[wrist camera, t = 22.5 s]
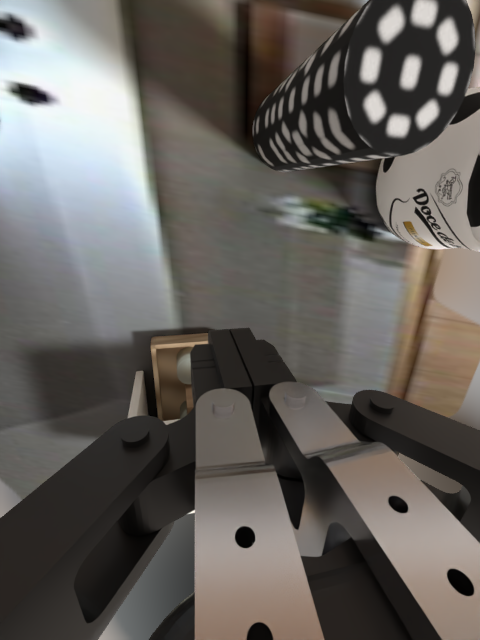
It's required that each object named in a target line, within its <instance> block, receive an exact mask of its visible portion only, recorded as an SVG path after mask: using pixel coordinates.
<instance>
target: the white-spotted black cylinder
mask: <svg viewBox="0 0 480 640" xmlns="http://www.w3.org/2000/svg"><path fill="white" fill-rule="evenodd" d="M474 58H475V29H474V24H473V19H472V14H471V11H470V9H469V6H468V4H467V1H466V0H369V1H368V2H367V3H366V4H365V5H363V6H362V7H361V8H360V9H359V10H358V11H357V12H356V13H355V14H354V15H353V16H352V17H351V18H350V19H349V20H348V21H347V22H346V23H344V24H343V25H342V26H341V27H340V28H339V29H338V30H337V31H336V32H335V33H334V34H333V35H332V36H331V37H330V38H329V39H328V40H327V41H325V42H324V43H323V44H322V45H321V46H320V47H319V48H318V49H317V50H316V51H315V52H314V53H313V54H312V55H311V56H310V57H309V58H307V59H306V60H305V61H304V62H303V63H302V64H301V65H300V66H299V67H298V68H297V69H296V70H295V71H294V72H293V73H292V74H291V75H290V76H288V77H287V78H286V79H285V80H284V81H283V82H282V83H281V84H280V85H279V86H278V87H277V88H276V89H275V90H274V91H273V92H272V93H271V94H269V95H268V96H267V97H266V98H265V99H264V101H263V102H262V103H261V104H260V106H259V108H258V110H257V112H256V115H255V118H254V122H253V141H254V146H255V149H256V151H257V153H258V155H259V157H260V158H261V160H262V161H263V162H264V163H265V164H266V165H267V166H269V167H270V168H272V169H274V170H276V171H281V172H290V171H297V170H304V169H312V168H319V167H326V166H333V165H340V164H347V163H354V162H361V161H368V160H375V159H382V158H389V157H397V156H403V155H407V154H411V153H414V152H417V151H418V150H420V149H422V148H424V147H426V146H427V145H429V144H430V143H431V142H433V141H434V140H435V139H436V138H438V136H439V135H440V134H441V133H442V132H443V131H444V130H445V129H446V128H447V127H448V125H449V124H450V122H451V121H452V120H453V118H454V117H455V115H456V114H457V112H458V110H459V108H460V106H461V104H462V102H463V100H464V98H465V95H466V92H467V89H468V87H469V84H470V80H471V76H472V71H473V67H474Z"/></svg>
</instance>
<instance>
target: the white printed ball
mask: <svg viewBox="0 0 480 640" xmlns="http://www.w3.org/2000/svg"><path fill="white" fill-rule="evenodd" d="M376 203H377V208H378V211H379V213H380V216H381V218H382V220H383V222H384V224H385V225H386V227H387V228H388V229H389V230H390V231H391V232H392V233H393V234H394V235H395V236H397V237H398V238H400V239H402V240H403V241H405V242H407V243H410V244H412V245H415V246H418V247H422V248H428V249H449V248H466V249H470V250H474V251H478V252H480V87H475V88H469V89H467V92H466V95H465V98H464V100H463V102H462V104H461V106H460V108H459V110H458V112H457V114H456V115H455V117H454V118H453V120H452V121H451V122H450V124H449V125H448V127H447V128H446V129H445V130H444V131H443V132H442V133H441V134H440V135H439V136H438V138H436V139H435V140H434V141H433V142H431V143H430V144H429V145H427V146H426V147H424V148H422V149H420V150H418V151H417V152H414V153H411V154H407V155H403V156H397V157H389V158H382V159H381V162H380V166H379V170H378V175H377V179H376Z"/></svg>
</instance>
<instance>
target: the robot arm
mask: <svg viewBox="0 0 480 640" xmlns="http://www.w3.org/2000/svg"><path fill="white" fill-rule="evenodd" d="M190 362H191V387H192V397H193V406H194V407H193V409H192V410H191V412H190V413H189V414H187V415H186V416H185V417H183V418H182V419H180V420H178V421H175V422H173V423H170V424H168V425H166V424H165V423H164V422H163V421H162V420H160V419H158V418H156V417H153V416H135V417H131V418H127V419H125V420H123V421H121V422H119V423H117V424H116V425H114V426H113V427H112V428H110V429H109V430H108V431H107V432H105V433H104V434H103V435H102V436H101V437H99V438H98V439H97V440H96V441H94V442H93V443H92V444H91V445H89V446H88V447H87V448H86V449H85V450H83V451H82V452H81V453H80V454H78V455H77V456H76V457H75V458H74V459H72V460H71V461H70V462H69V463H67V464H66V465H65V466H64V467H63V468H61V469H60V470H59V471H58V472H56V473H55V474H54V475H53V476H51V477H50V478H49V479H48V480H47V481H45V482H44V483H43V484H42V485H40V486H39V487H38V488H37V489H36V490H34V491H33V492H32V493H31V494H29V495H28V496H27V497H26V498H25V499H23V500H22V501H21V502H20V503H18V504H17V505H16V506H15V507H13V508H12V509H11V510H10V511H9V512H8V513H6V514H5V515H4V516H2V517H1V518H0V640H98V639H99V637H100V635H101V634H102V633H103V631H104V630H105V628H106V627H107V625H108V624H109V622H110V621H111V619H112V618H113V616H114V615H115V613H116V611H117V610H118V609H119V607H120V606H121V604H122V603H123V601H124V600H125V598H126V597H127V595H128V594H129V592H130V591H131V589H132V588H133V586H134V585H135V583H136V582H137V580H138V579H139V578H140V576H141V575H142V573H143V571H144V570H145V569H146V567H147V566H148V564H149V562H150V561H151V559H152V558H153V557H154V555H155V554H156V552H157V551H158V549H159V548H160V546H161V545H162V543H163V542H164V540H165V539H166V537H167V536H168V534H169V533H170V531H171V529H172V527H173V524H174V521H175V520H177V519H179V518H181V517H183V516H184V515H186V514H188V513H190V512H192V511H194V510H195V592H194V593H192V594H191V595H190V596H189V597H188V598H186V599H185V600H184V601H182V602H181V603H180V604H179V605H178V606H177V607H176V608H175V609H174V610H173V611H172V612H171V613H170V614H169V615H168V616H167V617H166V618H165V619H164V620H163V622H162V623H161V624H160V625H159V627H158V628H157V629H156V630H155V632H154V633H153V634H152V635H151V637H150V639H149V640H480V430H477V429H475V428H472V427H469V426H467V425H465V424H462V423H459V422H457V421H455V420H452V419H450V418H447V417H445V416H442V415H440V414H437V413H435V412H432V411H430V410H427V409H425V408H422V407H420V406H417V405H415V404H412V403H410V402H407V401H405V400H402V399H400V398H397V397H395V396H392V395H390V394H387V393H384V392H381V391H376V390H363V391H360V392H358V393H356V394H355V395H354V397H353V401H352V405H351V404H342V403H333V402H326V401H325V400H324V399H323V398H322V397H321V396H320V395H319V393H318V392H317V391H316V390H314V389H313V388H312V387H310V386H308V385H306V384H303V383H299V382H297V381H296V379H295V378H294V376H293V375H292V373H291V372H290V370H289V369H288V367H287V366H286V364H285V363H284V362H283V360H282V358H281V357H280V355H279V354H278V352H277V350H276V349H275V347H274V346H273V345H271V344H270V343H268V342H267V341H265V340H256V339H255V337H254V335H253V334H252V332H251V330H250V328H238V329H223V330H209V331H208V344H197V345H195V346H194V347H193V349H192V350H191V352H190ZM399 453H401V454H403V455H405V456H407V457H409V458H411V459H413V460H415V461H417V462H419V463H421V464H423V465H425V466H428V467H429V468H431V469H433V470H435V471H437V472H439V473H441V474H443V475H445V476H448V477H449V478H451V479H453V480H456V481H457V482H459V483H460V484H462V485H463V486H462V489H461V490H460V491H459V492H458V493H454V494H450V493H445V492H443V491H441V490H439V489H437V488H435V487H433V486H431V485H429V484H427V483H425V482H424V481H422V480H419V478H417V476H416V475H415V474H414V473H413V472H412V471H411V470H410V469H409V468H408V467H407V466H406V465H405V464H404V463H403V461H402V460H401V459H399V457H398V454H399Z"/></svg>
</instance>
